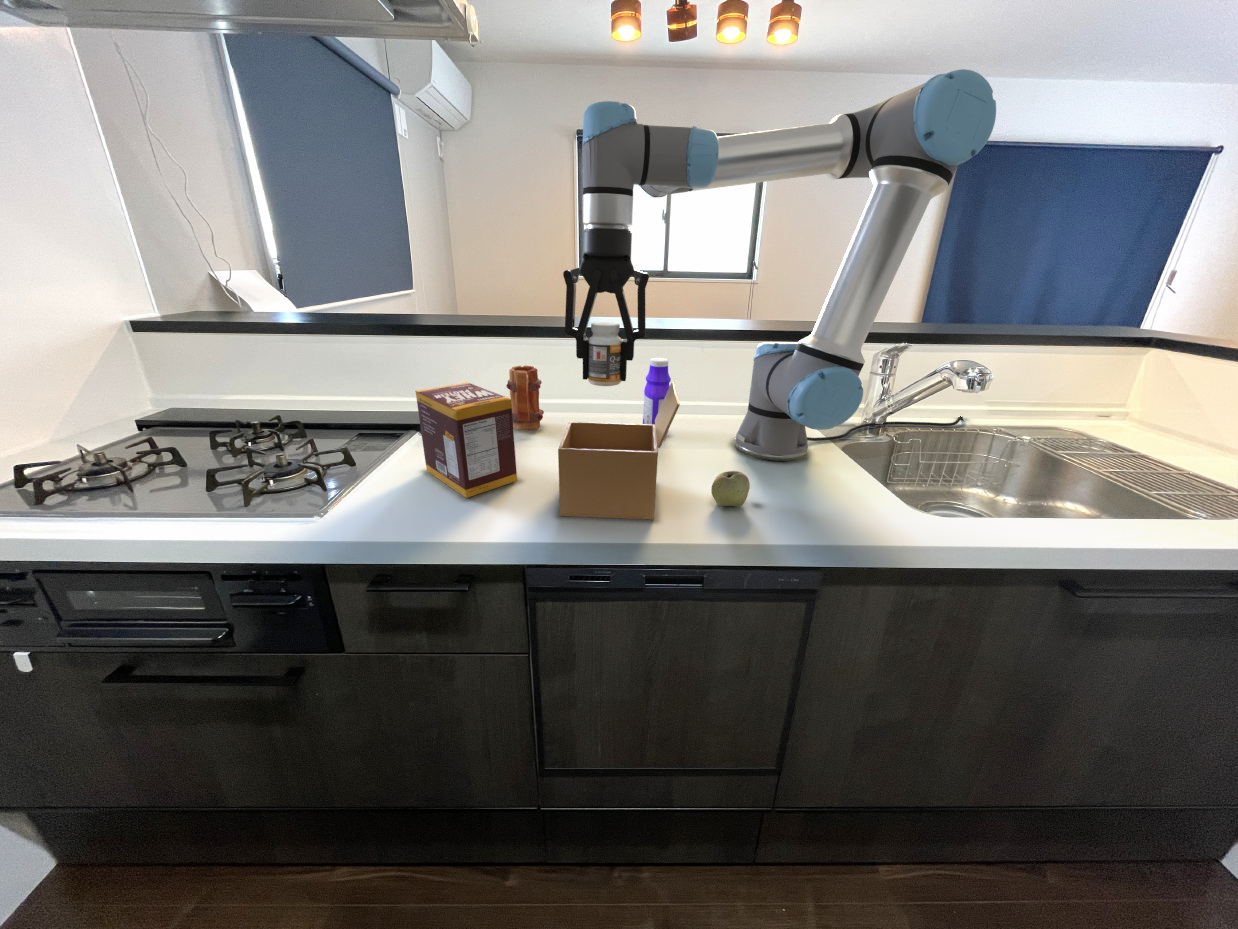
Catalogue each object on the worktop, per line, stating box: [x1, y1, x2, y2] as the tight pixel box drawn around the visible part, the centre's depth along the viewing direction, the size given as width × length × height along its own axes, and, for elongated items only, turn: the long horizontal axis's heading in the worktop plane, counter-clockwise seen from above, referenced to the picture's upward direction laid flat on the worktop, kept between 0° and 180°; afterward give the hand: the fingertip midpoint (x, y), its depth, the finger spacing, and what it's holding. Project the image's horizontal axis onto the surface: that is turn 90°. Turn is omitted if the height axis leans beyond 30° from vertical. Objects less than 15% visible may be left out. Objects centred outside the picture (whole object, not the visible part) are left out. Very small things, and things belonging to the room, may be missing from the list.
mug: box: [505, 364, 545, 431], centre depth 111 cm, size 15×8×15 cm, turn 6°
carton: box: [557, 421, 659, 520], centre depth 82 cm, size 15×13×12 cm
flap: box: [655, 381, 681, 450], centre depth 78 cm, size 7×13×1 cm
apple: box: [710, 470, 751, 508], centre depth 82 cm, size 6×8×6 cm
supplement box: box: [414, 381, 518, 499], centre depth 88 cm, size 10×15×16 cm
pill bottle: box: [587, 321, 623, 387], centre depth 82 cm, size 6×6×10 cm
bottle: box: [642, 357, 672, 436], centre depth 112 cm, size 7×6×17 cm
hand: (604, 378), depth 84 cm, fingers closed on pill bottle, 6 cm apart
